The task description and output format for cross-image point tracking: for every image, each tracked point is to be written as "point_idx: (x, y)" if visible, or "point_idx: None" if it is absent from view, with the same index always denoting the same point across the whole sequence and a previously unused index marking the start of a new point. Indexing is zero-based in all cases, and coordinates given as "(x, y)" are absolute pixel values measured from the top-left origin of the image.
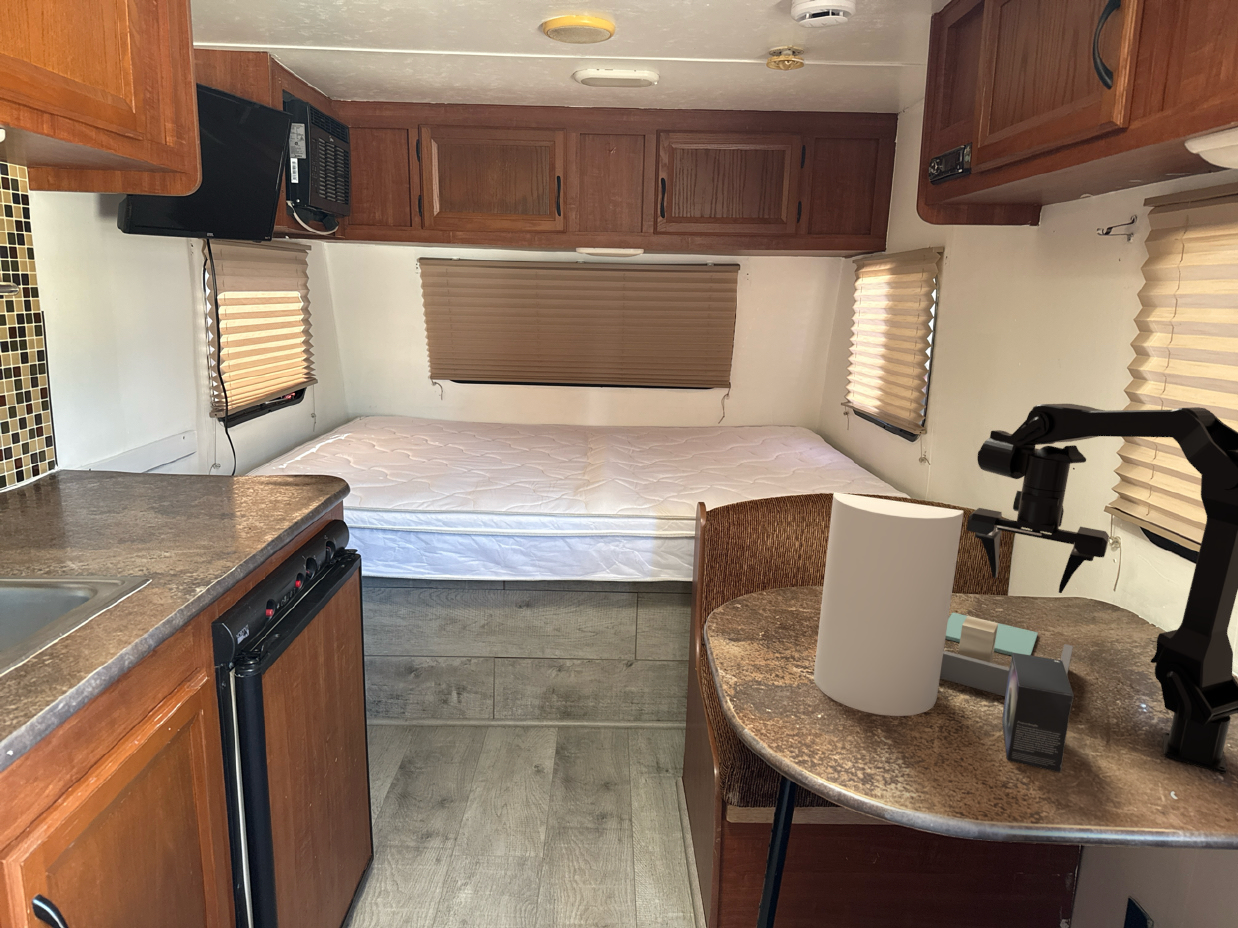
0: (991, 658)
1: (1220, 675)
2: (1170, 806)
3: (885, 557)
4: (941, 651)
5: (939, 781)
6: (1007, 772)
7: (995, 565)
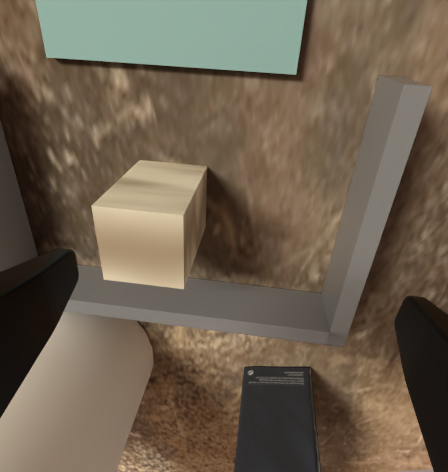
0: (202, 203)
1: None
2: (422, 447)
3: None
4: (121, 450)
5: (197, 467)
6: None
7: (32, 364)
